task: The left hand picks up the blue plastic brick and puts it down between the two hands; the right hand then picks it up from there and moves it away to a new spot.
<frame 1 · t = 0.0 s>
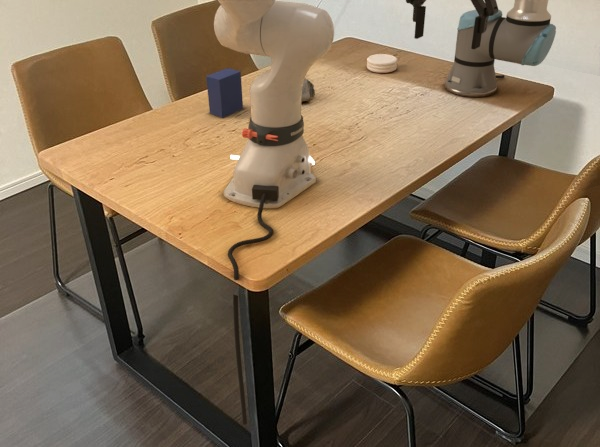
right hand: (446, 42, 135), 28 cm above the table, tool pointing down, fingers open, 13 cm apart
rock: (290, 97, 186), on the table
brick: (226, 111, 177), on the table
coaster: (381, 69, 207), on the table
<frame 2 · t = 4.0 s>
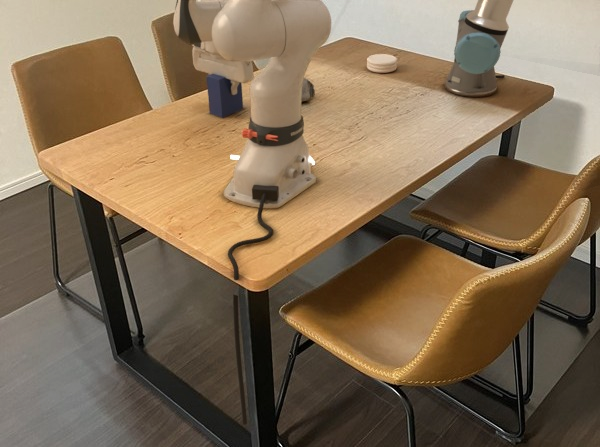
left hand: (224, 91, 174), 6 cm above the table, tool pointing down, fingers closed on brick, 5 cm apart
brick: (226, 111, 177), on the table, touching left hand
everything else where it was.
when the left hand's fingers open (8 cm above the table, at t = 12.7 s): brick drops 2 cm, on the table.
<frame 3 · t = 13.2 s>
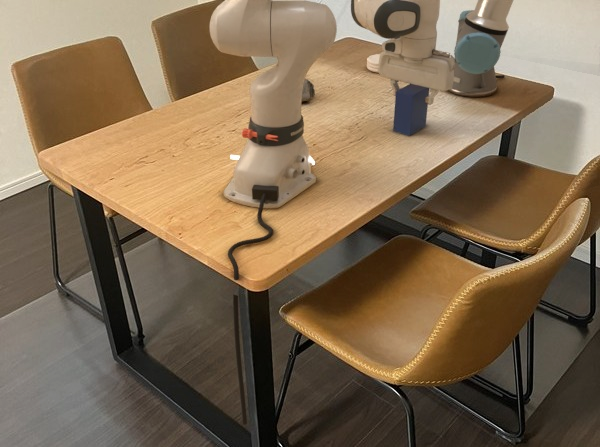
left hand: (412, 99, 161), 8 cm above the table, tool pointing down, fingers open, 8 cm apart
brick: (409, 128, 165), on the table
everything else where it was.
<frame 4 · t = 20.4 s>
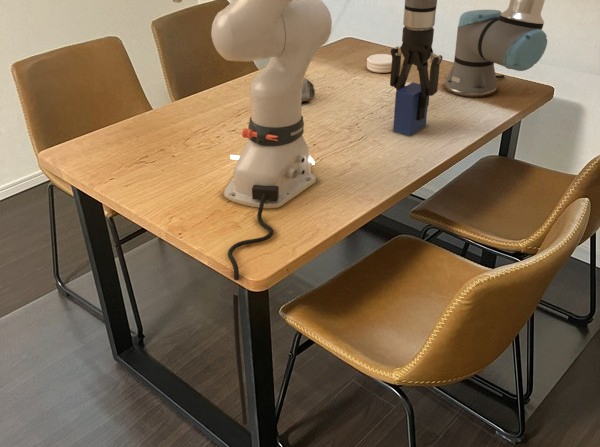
right hand: (410, 115, 163), 4 cm above the table, tool pointing down, fingers closed on brick, 5 cm apart
brick: (409, 128, 165), on the table, touching right hand
everything else where it was.
when the right hand's fingers open (5 cm above the table, at t = 28.7 s): brick drops 2 cm, on the table.
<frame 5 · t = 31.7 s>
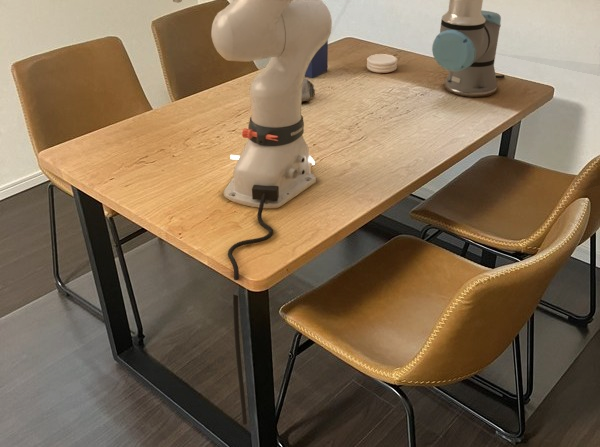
brick: (313, 73, 204), on the table
everything else where it was.
at the end: brick inside the target area (0.1 cm from its centre), on the table; brick tilted 0°; the two hands never held the brick at the same time; the left hand is holding nothing; the right hand is holding nothing; brick at rest at the end (0.0 cm/s) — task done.
